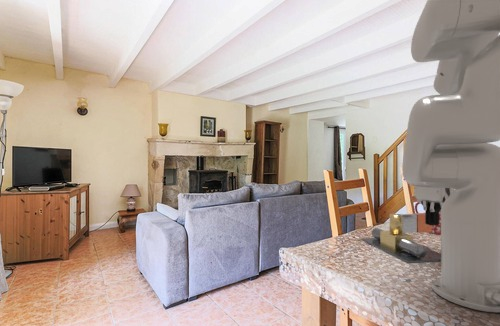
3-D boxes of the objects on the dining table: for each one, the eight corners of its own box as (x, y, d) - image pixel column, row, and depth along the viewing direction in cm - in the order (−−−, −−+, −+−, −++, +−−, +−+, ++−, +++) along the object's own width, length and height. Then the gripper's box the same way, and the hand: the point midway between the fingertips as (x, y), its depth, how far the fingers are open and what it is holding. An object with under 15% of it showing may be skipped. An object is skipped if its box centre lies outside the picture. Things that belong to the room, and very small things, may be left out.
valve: (452, 260, 74) (452, 242, 74) (407, 263, 72) (407, 244, 72) (396, 238, 95) (396, 224, 96) (361, 240, 93) (361, 225, 93)
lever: (394, 234, 81) (394, 215, 81) (387, 231, 85) (387, 213, 85) (433, 232, 83) (433, 214, 83) (424, 229, 87) (424, 212, 87)
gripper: (467, 163, 71) (467, 230, 71) (423, 163, 86) (423, 218, 86) (443, 163, 70) (443, 231, 70) (402, 163, 85) (402, 219, 85)
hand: (432, 224), depth 78 cm, fingers closed
